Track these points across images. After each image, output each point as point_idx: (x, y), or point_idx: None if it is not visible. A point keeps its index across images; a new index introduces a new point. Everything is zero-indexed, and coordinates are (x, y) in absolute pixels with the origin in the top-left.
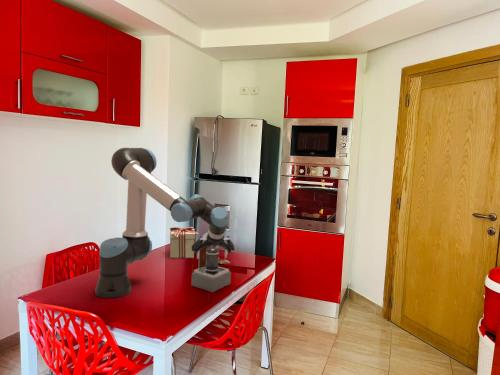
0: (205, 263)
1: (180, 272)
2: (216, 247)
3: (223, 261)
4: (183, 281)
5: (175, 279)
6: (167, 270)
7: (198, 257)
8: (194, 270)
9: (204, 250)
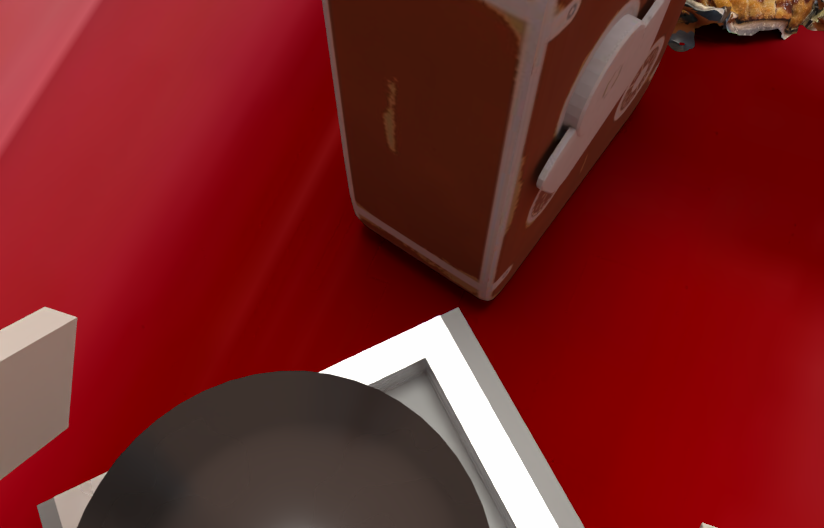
0: (422, 201)
1: (210, 96)
2: (470, 483)
3: (782, 1)
4: (96, 359)
5: (50, 266)
6: (119, 7)
7: (28, 453)
8: (58, 506)
9: (401, 56)
